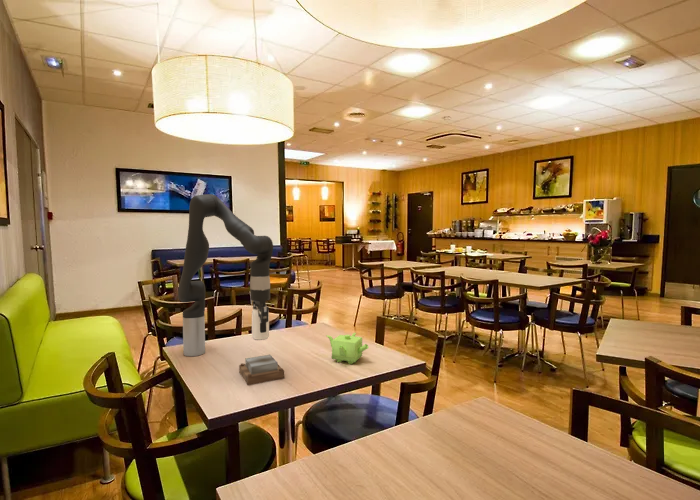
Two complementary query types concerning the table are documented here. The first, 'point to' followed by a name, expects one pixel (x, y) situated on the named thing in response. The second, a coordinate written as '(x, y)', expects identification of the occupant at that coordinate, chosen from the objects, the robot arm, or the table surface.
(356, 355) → the kettle
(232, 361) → the table surface
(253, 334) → the can
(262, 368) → the grey block on base
